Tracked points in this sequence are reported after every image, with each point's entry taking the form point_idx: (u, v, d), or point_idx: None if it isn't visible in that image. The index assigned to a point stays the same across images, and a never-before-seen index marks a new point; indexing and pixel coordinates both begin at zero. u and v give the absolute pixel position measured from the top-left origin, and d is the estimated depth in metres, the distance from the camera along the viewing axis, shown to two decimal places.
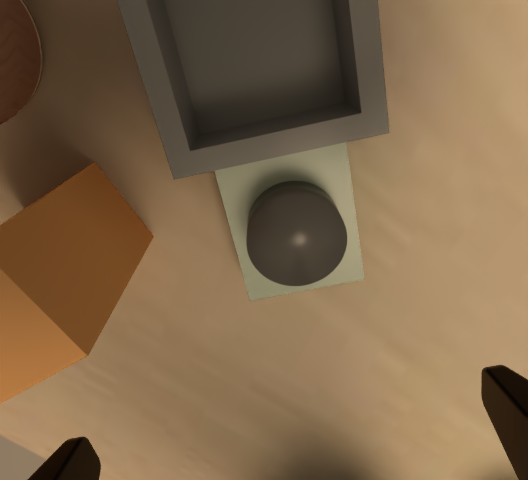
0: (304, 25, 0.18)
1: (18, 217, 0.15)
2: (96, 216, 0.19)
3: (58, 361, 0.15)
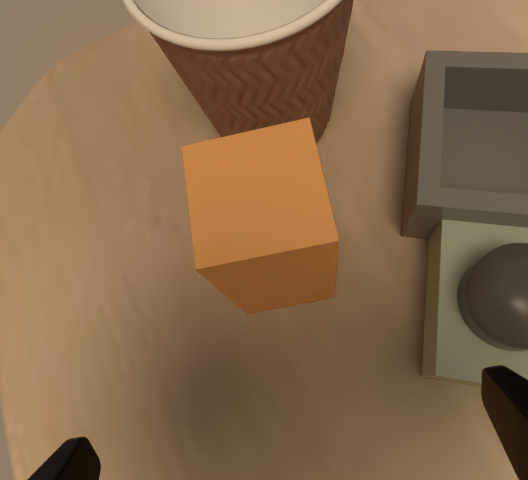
0: None
1: None
2: None
3: (307, 236, 0.14)
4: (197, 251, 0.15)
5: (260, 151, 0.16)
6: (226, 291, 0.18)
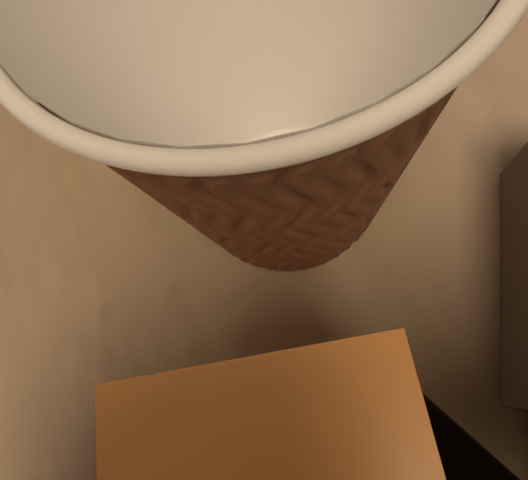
0: None
1: None
2: None
3: None
4: None
5: (283, 418, 0.06)
6: None
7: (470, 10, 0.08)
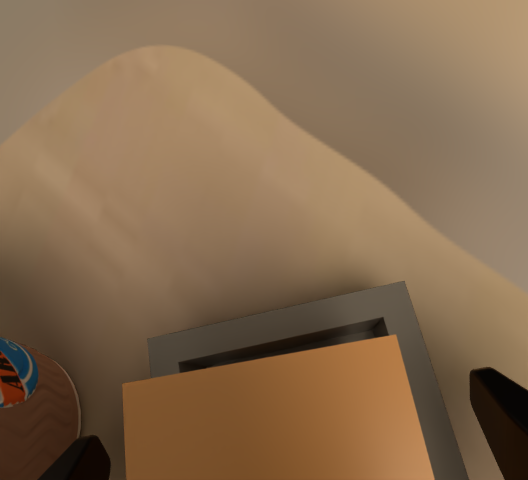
0: None
1: None
2: None
3: None
4: None
5: (289, 414, 0.07)
6: None
7: None
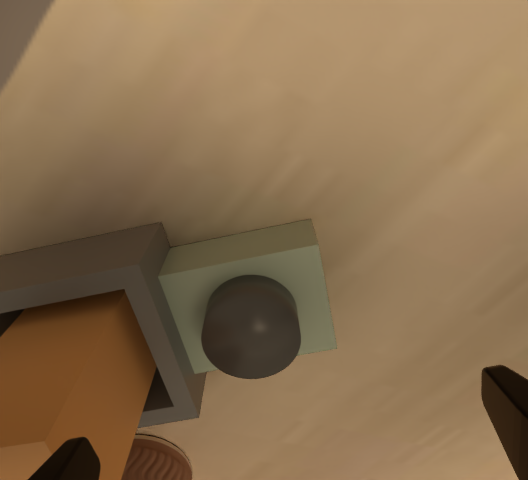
0: None
1: None
2: (48, 323, 0.19)
3: None
4: None
5: None
6: (131, 440, 0.18)
7: None
